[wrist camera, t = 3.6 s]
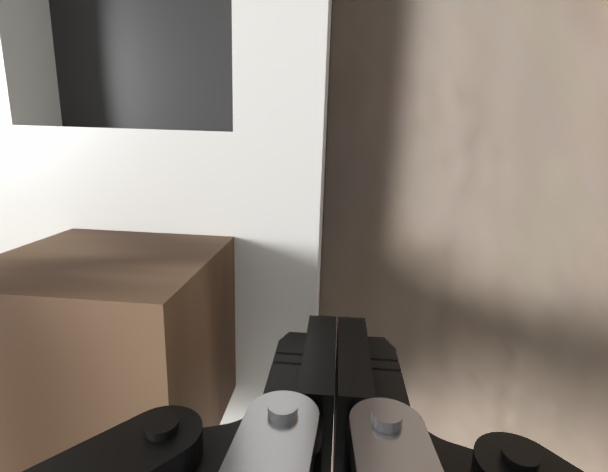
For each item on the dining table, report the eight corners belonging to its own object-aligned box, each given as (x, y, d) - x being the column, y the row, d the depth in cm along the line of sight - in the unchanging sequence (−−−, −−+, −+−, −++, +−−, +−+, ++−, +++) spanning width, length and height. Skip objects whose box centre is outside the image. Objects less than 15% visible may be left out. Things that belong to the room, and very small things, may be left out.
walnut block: (234, 236, 12) (162, 304, 7) (235, 385, 13) (175, 529, 8) (72, 228, 12) (-98, 287, 8) (88, 374, 14) (-50, 504, 9)
